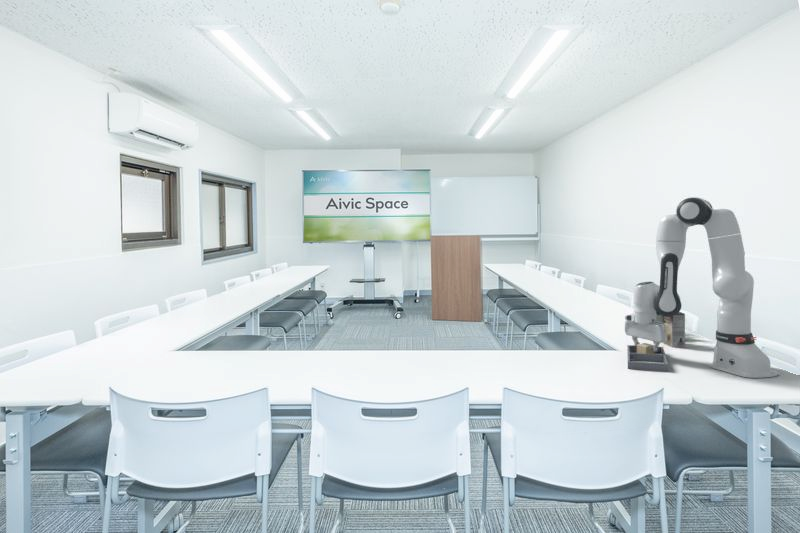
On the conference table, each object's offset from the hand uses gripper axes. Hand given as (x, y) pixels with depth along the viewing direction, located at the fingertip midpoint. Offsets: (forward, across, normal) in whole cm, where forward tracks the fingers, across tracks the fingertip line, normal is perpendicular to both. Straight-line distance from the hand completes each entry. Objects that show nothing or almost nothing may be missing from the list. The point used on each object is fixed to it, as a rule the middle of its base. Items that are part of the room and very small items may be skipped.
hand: (645, 348), depth 209 cm
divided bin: (+4, -5, +5) cm, 8 cm away
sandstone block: (+3, 0, 0) cm, 3 cm away
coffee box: (+4, +8, -27) cm, 28 cm away
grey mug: (+4, +32, -43) cm, 54 cm away
